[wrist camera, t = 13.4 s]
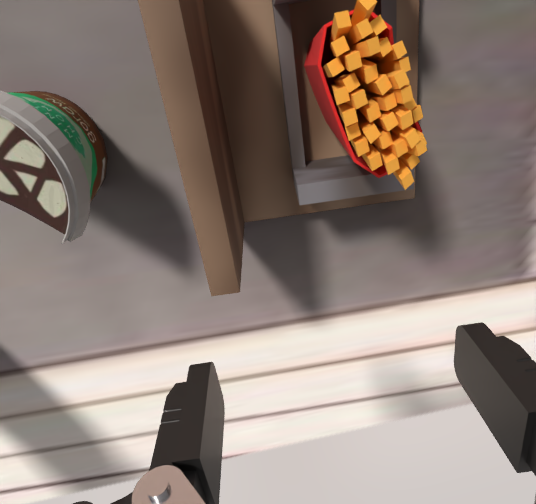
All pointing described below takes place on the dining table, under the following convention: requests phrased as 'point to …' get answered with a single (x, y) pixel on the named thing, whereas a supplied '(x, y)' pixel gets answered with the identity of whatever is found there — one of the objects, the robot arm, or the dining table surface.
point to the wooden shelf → (258, 116)
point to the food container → (50, 159)
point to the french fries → (367, 92)
